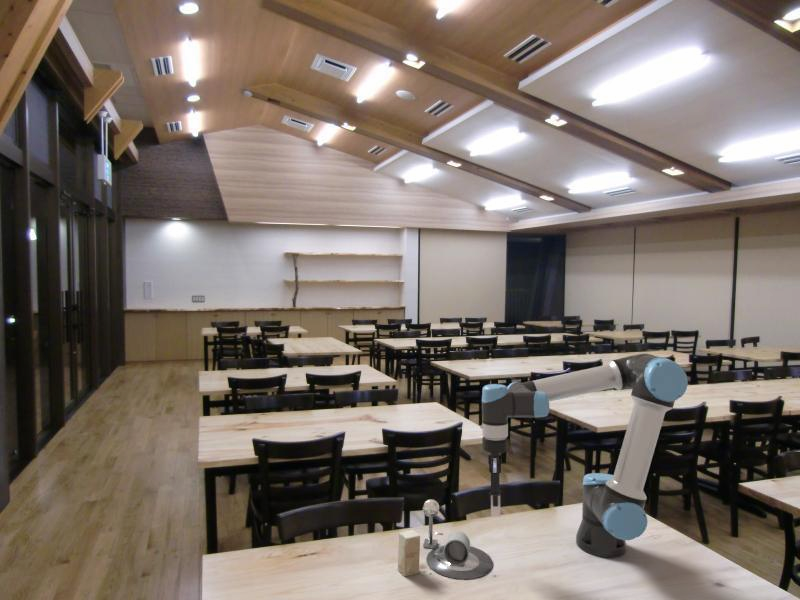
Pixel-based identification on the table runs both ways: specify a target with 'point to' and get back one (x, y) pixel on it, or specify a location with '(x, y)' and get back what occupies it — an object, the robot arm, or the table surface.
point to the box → (408, 553)
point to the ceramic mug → (455, 549)
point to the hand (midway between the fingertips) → (495, 515)
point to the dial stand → (431, 522)
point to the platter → (471, 569)
